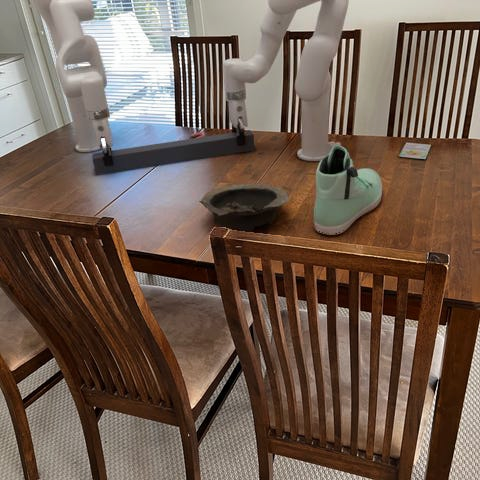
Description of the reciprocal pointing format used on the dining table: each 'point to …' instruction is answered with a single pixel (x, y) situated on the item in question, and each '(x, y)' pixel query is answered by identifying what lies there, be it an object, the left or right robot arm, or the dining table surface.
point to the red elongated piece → (198, 135)
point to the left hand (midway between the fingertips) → (109, 161)
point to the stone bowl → (244, 205)
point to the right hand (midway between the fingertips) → (239, 141)
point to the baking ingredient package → (415, 150)
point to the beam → (173, 152)
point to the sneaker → (343, 192)
